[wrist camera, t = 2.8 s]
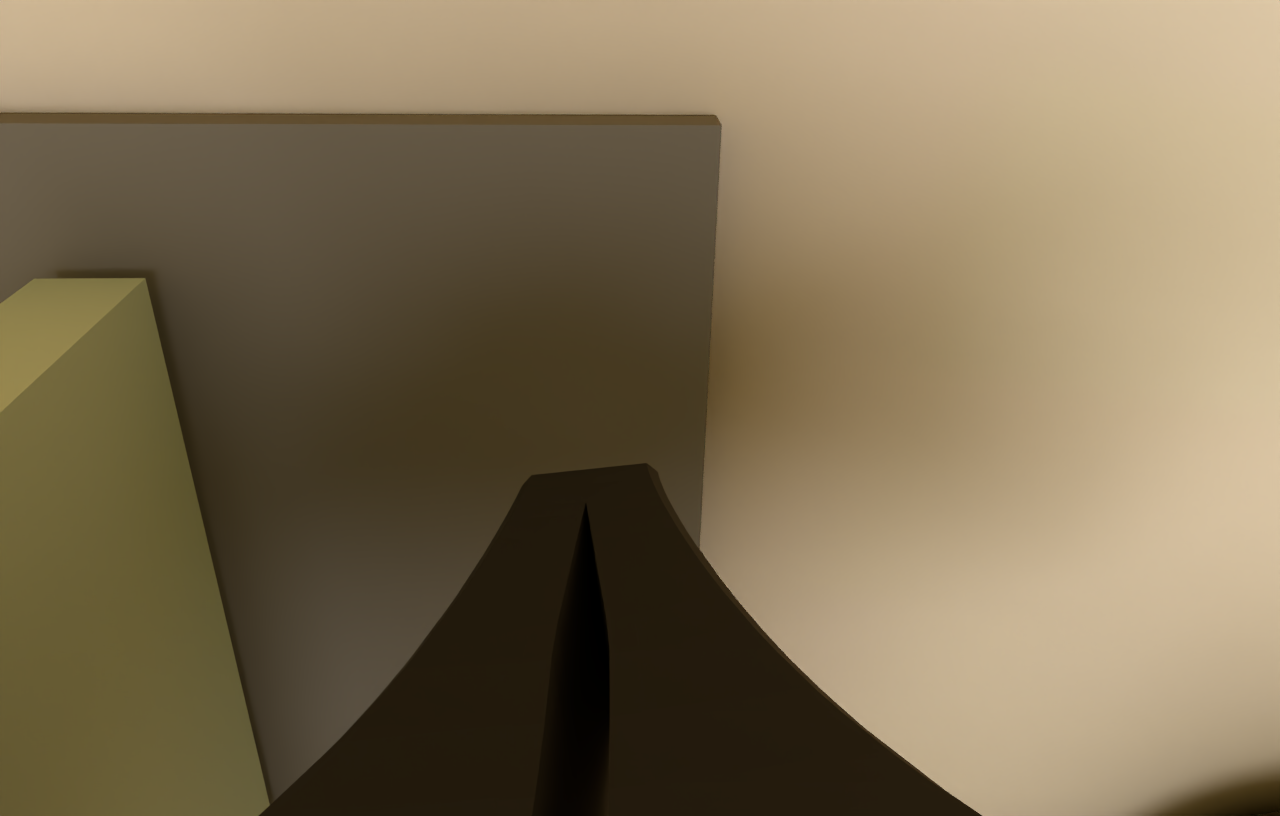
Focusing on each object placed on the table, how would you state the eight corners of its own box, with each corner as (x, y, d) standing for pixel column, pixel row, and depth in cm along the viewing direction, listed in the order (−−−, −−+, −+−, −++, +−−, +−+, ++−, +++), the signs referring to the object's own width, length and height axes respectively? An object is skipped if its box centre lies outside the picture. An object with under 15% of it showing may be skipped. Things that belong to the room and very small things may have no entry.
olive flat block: (297, 841, 15) (143, 1368, 10) (179, 845, 15) (-42, 1378, 10) (167, 252, 11) (-250, 632, 5) (-3, 252, 11) (-597, 639, 5)
